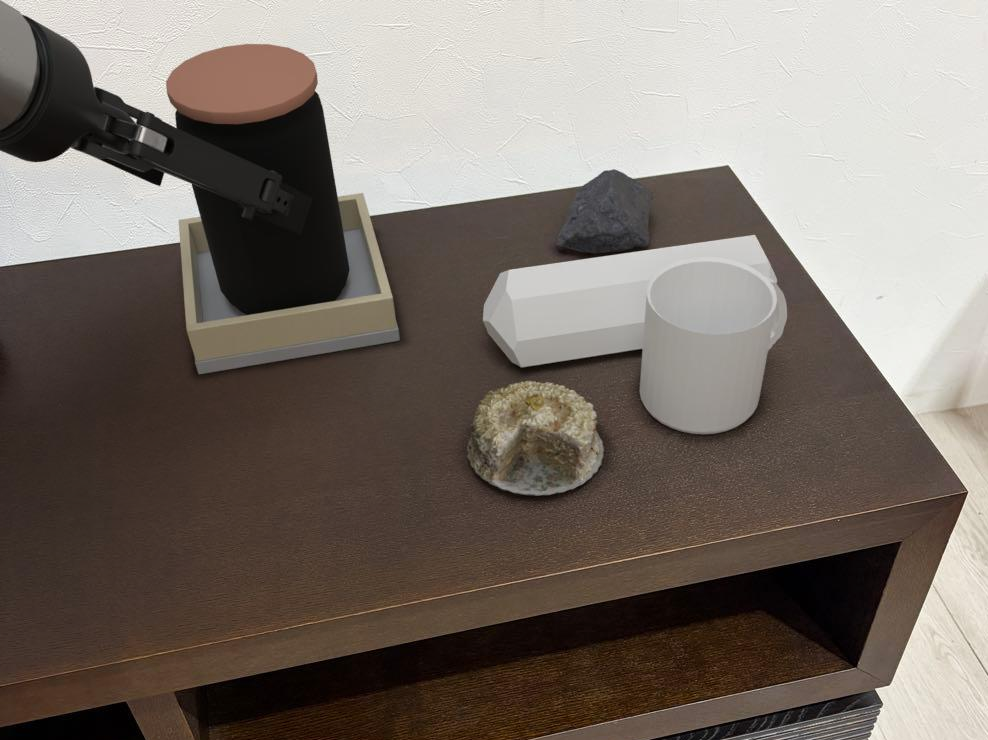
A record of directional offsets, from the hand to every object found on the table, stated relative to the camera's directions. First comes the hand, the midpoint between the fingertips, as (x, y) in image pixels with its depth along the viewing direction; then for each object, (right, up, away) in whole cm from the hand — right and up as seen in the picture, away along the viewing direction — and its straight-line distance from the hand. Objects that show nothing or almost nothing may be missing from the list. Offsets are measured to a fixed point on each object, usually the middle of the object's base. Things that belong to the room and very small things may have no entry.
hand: (230, 191), depth 82 cm
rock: (+29, +1, +17) cm, 33 cm away
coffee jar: (+2, -5, +10) cm, 11 cm away
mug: (+37, -15, +3) cm, 39 cm away
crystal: (+30, -9, +8) cm, 33 cm away
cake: (+23, -20, -2) cm, 30 cm away
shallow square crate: (+2, -6, +11) cm, 12 cm away
